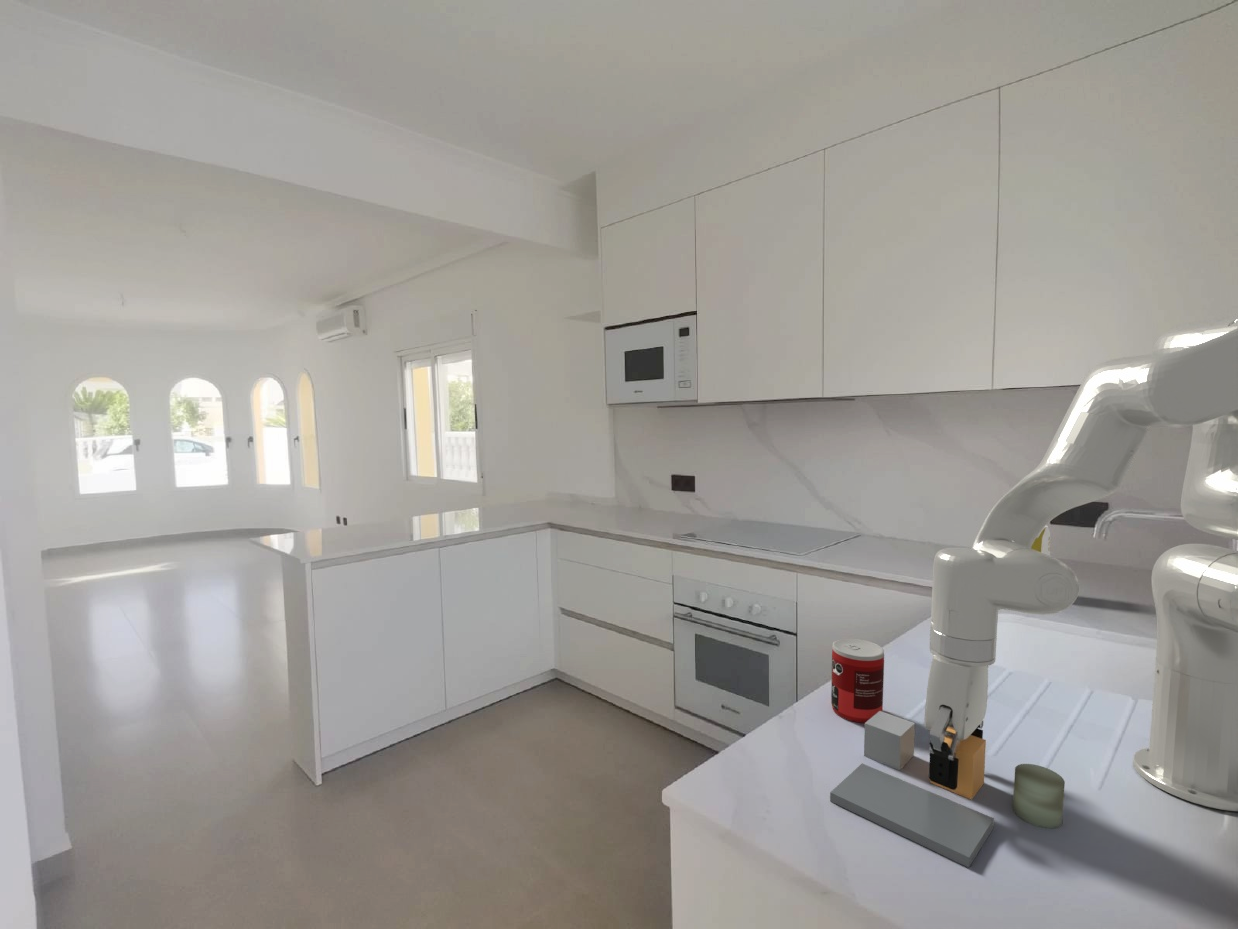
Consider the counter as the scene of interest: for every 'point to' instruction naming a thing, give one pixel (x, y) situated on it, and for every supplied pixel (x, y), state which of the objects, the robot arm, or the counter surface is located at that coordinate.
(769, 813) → the counter surface
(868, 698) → the canned food
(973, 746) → the orange block
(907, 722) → the grey block
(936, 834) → the slate board
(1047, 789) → the sage cylinder
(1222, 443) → the robot arm
